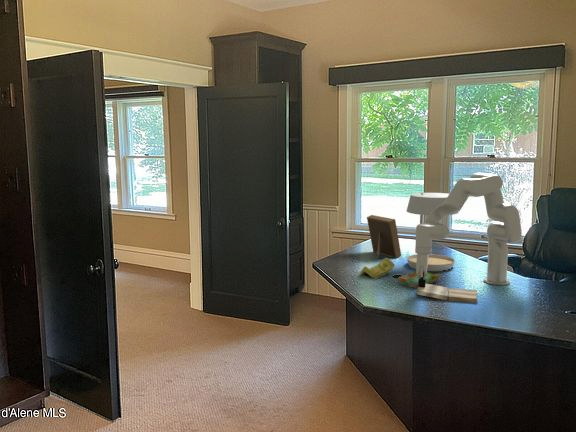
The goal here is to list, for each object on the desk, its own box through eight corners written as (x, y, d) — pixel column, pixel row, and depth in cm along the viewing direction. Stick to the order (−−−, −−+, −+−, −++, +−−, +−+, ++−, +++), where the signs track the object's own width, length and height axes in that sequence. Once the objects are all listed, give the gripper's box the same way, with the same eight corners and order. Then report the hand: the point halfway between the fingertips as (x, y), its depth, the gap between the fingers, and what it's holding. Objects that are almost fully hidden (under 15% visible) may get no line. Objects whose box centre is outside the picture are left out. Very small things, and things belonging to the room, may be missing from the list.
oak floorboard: (449, 291, 257) (449, 288, 256) (476, 294, 253) (476, 290, 252) (448, 300, 244) (448, 296, 243) (477, 303, 239) (477, 298, 239)
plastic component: (376, 275, 280) (362, 264, 286) (372, 285, 284) (358, 275, 289) (397, 265, 293) (384, 255, 299) (393, 276, 297) (380, 266, 303)
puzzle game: (398, 275, 271) (421, 269, 283) (397, 284, 271) (421, 277, 284) (416, 280, 262) (439, 273, 274) (416, 289, 262) (439, 282, 275)
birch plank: (448, 291, 257) (448, 287, 256) (446, 300, 244) (447, 296, 243) (419, 286, 261) (419, 282, 261) (416, 294, 248) (417, 290, 248)
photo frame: (378, 251, 347) (378, 214, 343) (401, 257, 329) (401, 218, 325) (360, 254, 340) (360, 216, 336) (383, 260, 322) (383, 220, 317)
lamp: (449, 274, 288) (452, 197, 281) (398, 268, 302) (400, 194, 296) (461, 263, 313) (464, 192, 306) (413, 258, 327) (415, 189, 320)
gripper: (416, 246, 259) (415, 282, 262) (413, 252, 245) (412, 290, 248) (432, 247, 256) (430, 283, 259) (430, 253, 242) (428, 291, 245)
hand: (421, 286), depth 253 cm, fingers closed
